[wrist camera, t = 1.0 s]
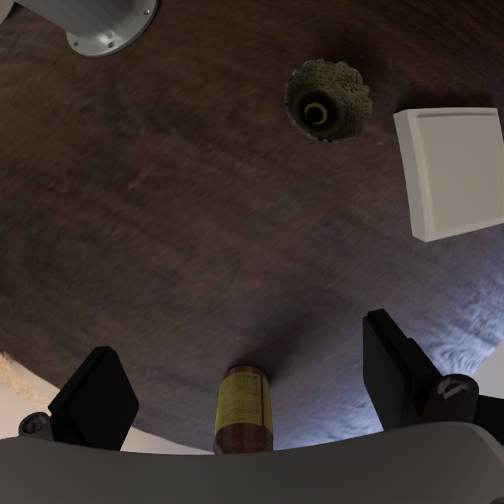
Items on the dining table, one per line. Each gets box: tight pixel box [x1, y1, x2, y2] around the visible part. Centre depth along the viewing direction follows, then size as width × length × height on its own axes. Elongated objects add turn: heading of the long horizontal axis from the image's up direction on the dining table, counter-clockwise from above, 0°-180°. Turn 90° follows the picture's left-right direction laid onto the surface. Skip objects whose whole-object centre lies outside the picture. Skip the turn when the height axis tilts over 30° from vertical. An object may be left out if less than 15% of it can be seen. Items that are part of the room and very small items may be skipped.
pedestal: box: [393, 108, 504, 242], centre depth 29 cm, size 14×14×4 cm
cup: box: [285, 58, 373, 143], centre depth 26 cm, size 8×7×8 cm
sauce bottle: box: [213, 365, 273, 455], centre depth 29 cm, size 7×6×20 cm
